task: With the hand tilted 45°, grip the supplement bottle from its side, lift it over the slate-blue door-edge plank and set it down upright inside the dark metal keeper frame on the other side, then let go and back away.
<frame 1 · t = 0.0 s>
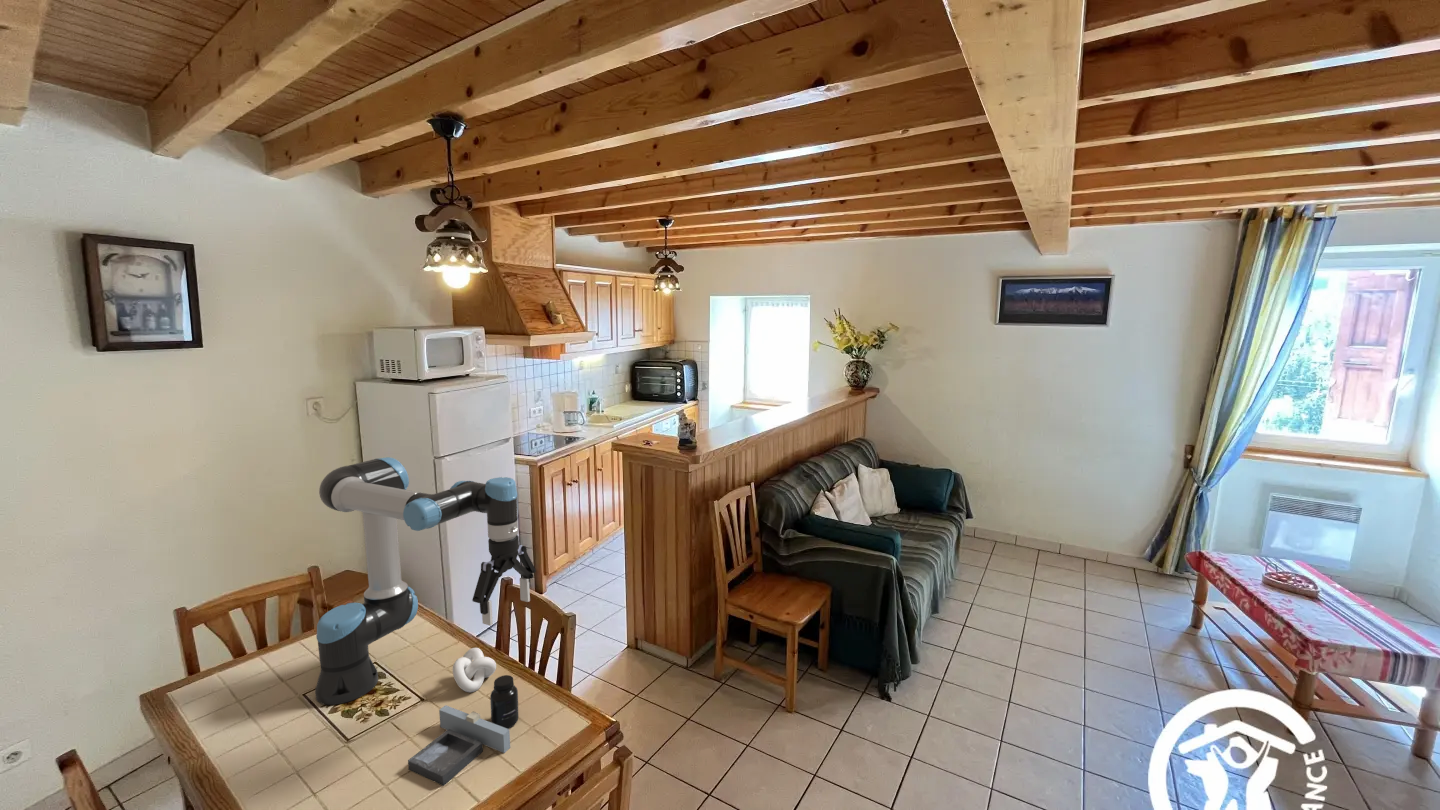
hand: (507, 611, 151), 28 cm above the table, tool pointing down, fingers open, 13 cm apart
door edge plank: (474, 737, 144), on the table
white trefoil knot: (476, 683, 166), on the table
supplement bottle: (505, 722, 149), on the table
keeper frame: (446, 760, 136), on the table
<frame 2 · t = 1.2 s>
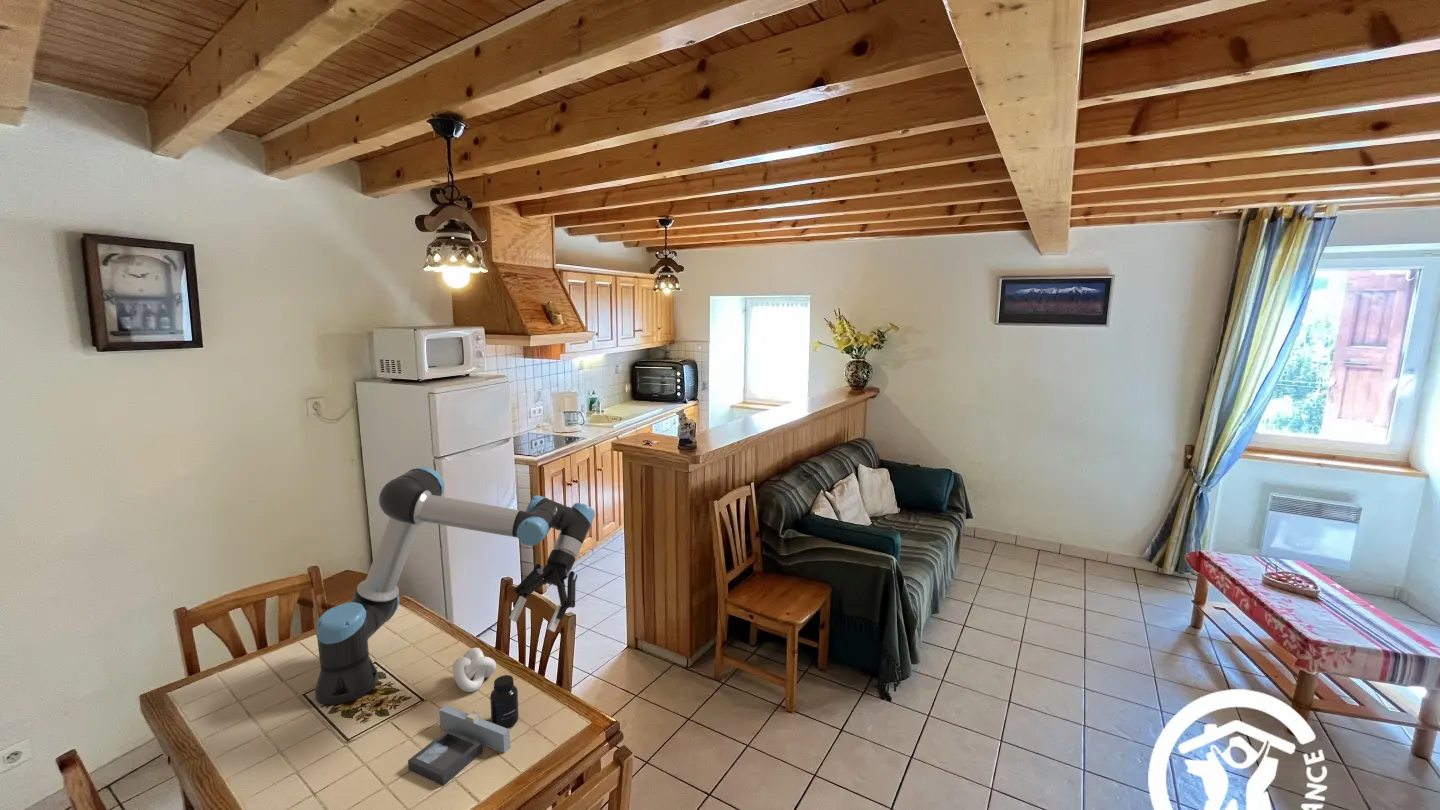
hand: (531, 625, 156), 22 cm above the table, tool tilted 45°, fingers open, 13 cm apart
nothing on the table moved.
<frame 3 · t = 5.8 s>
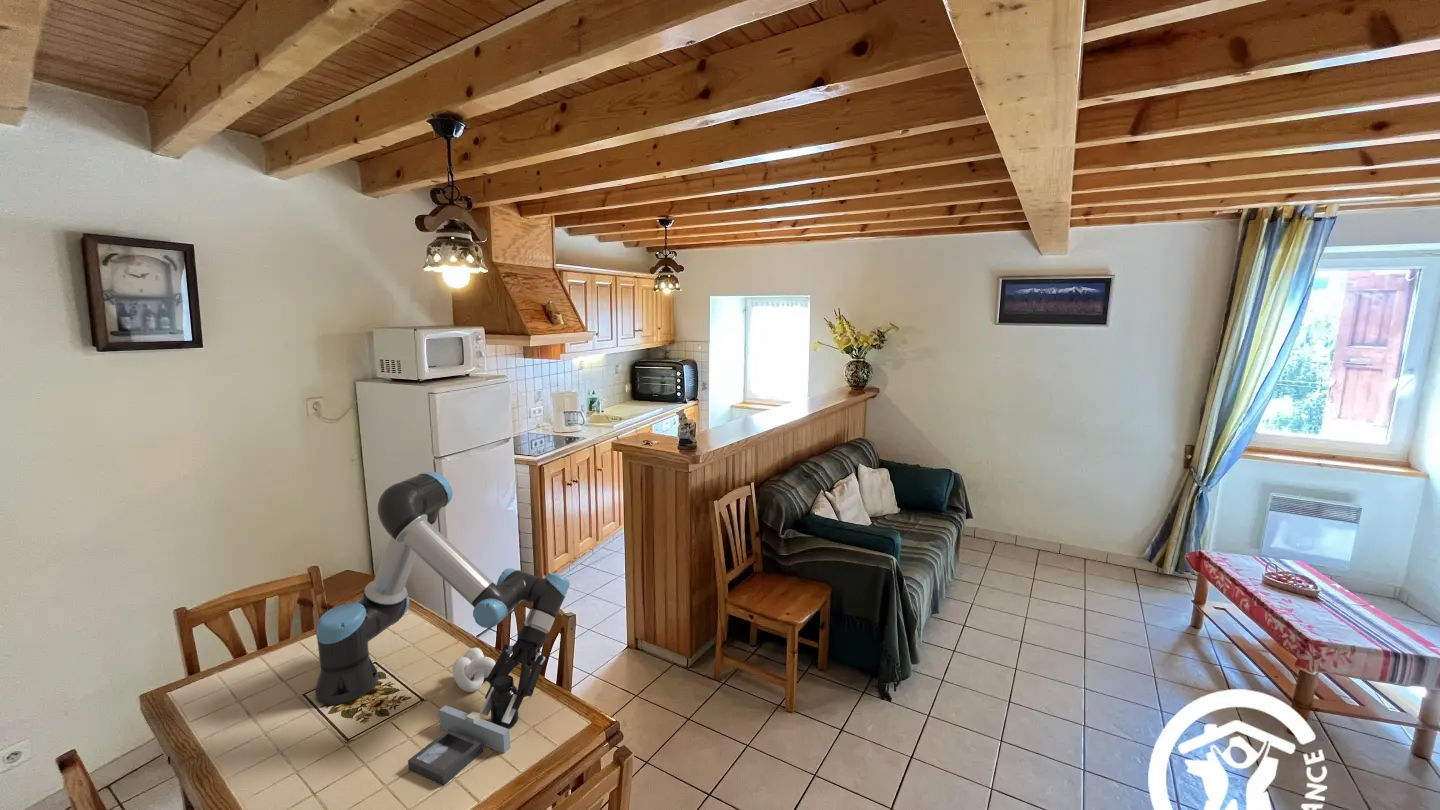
hand: (494, 718, 146), 3 cm above the table, tool tilted 45°, fingers closed on supplement bottle, 7 cm apart
supplement bottle: (505, 722, 149), on the table, touching gripper
everything else where it was.
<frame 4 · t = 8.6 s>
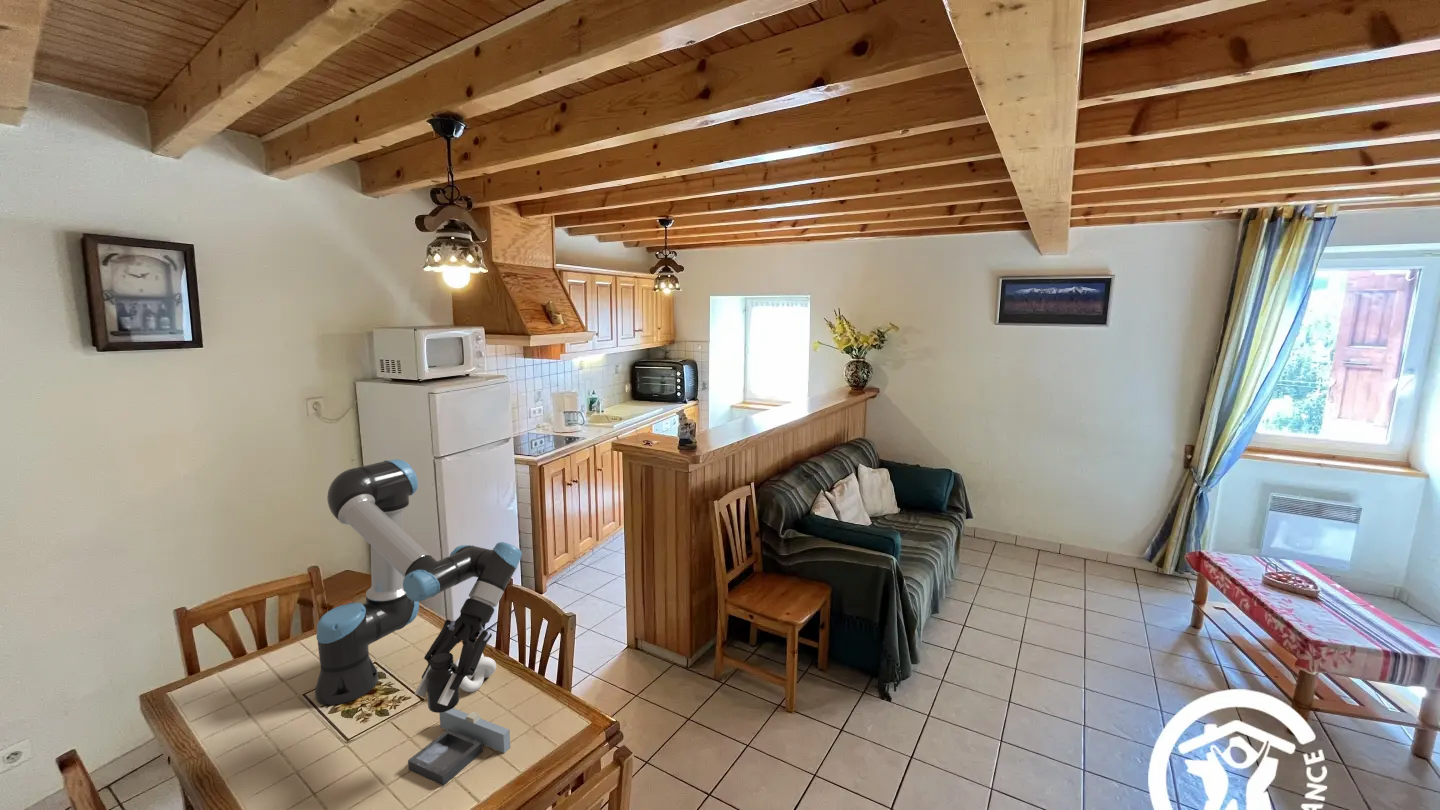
hand: (430, 699, 131), 18 cm above the table, tool tilted 45°, fingers closed on supplement bottle, 7 cm apart
supplement bottle: (444, 704, 134), point 15 cm above the table, touching gripper
everything else where it was.
when the fingers open (5 cm above the table, at t = 11.5 s): supplement bottle stays where it is, resting on keeper frame.
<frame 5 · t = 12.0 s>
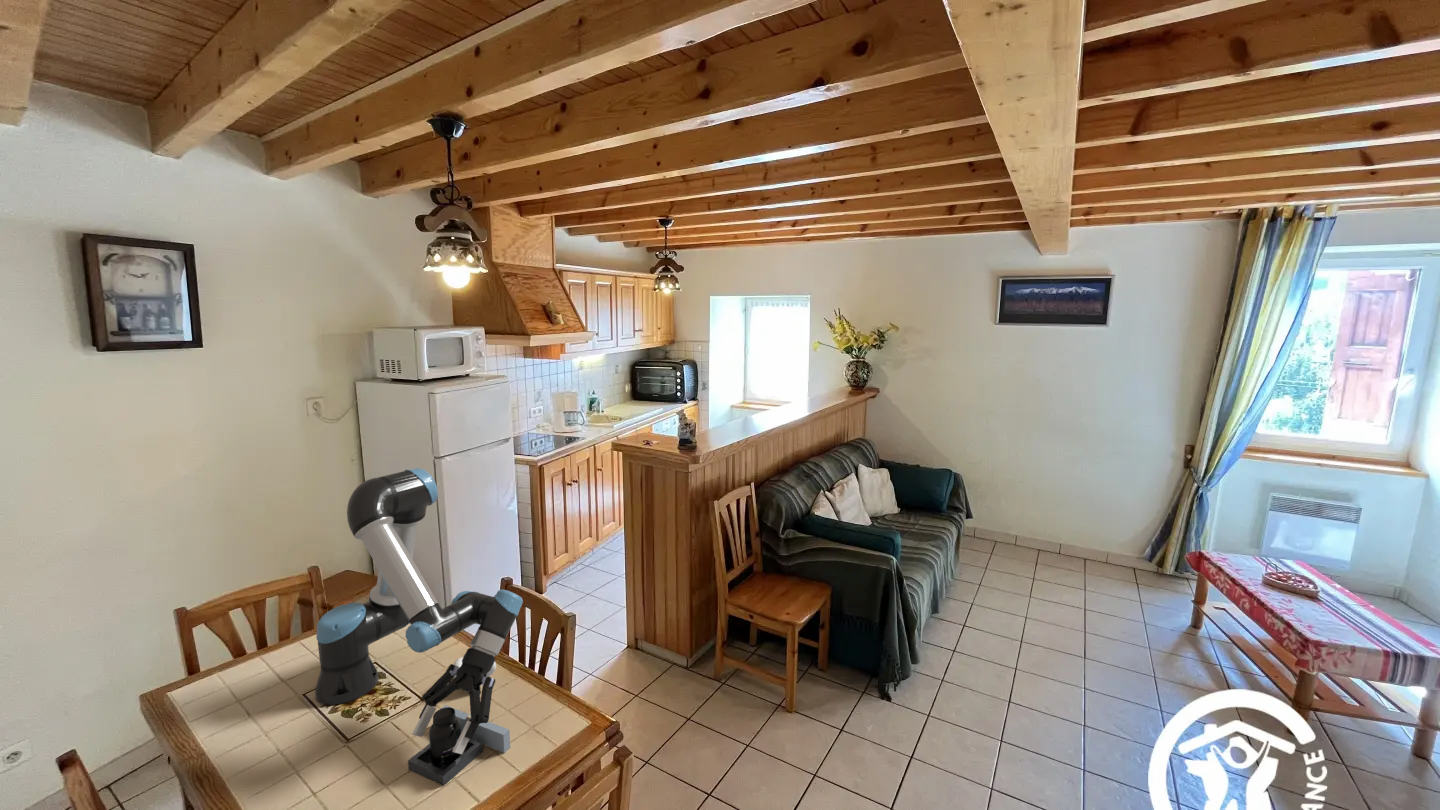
hand: (436, 744, 133), 6 cm above the table, tool tilted 45°, fingers open, 13 cm apart
supplement bottle: (446, 759, 136), resting on keeper frame
everything else where it was.
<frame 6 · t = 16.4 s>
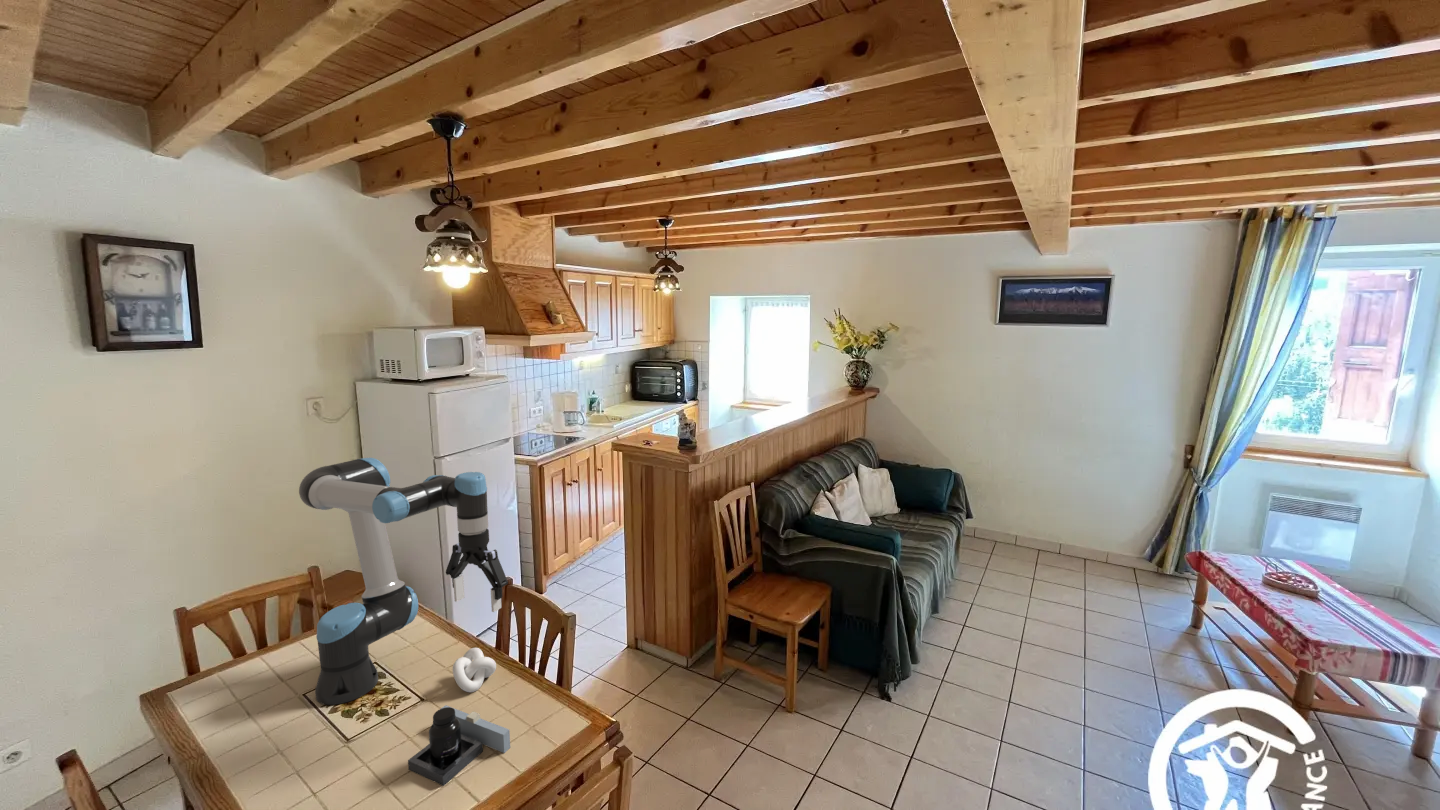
hand: (477, 604, 154), 29 cm above the table, tool pointing down, fingers open, 13 cm apart
nothing on the table moved.
at the end: supplement bottle inside the target area on the keeper frame (0.1 cm from its centre), point 0.2 cm above the keeper frame's base; supplement bottle tilted 0°; the gripper is holding nothing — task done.
